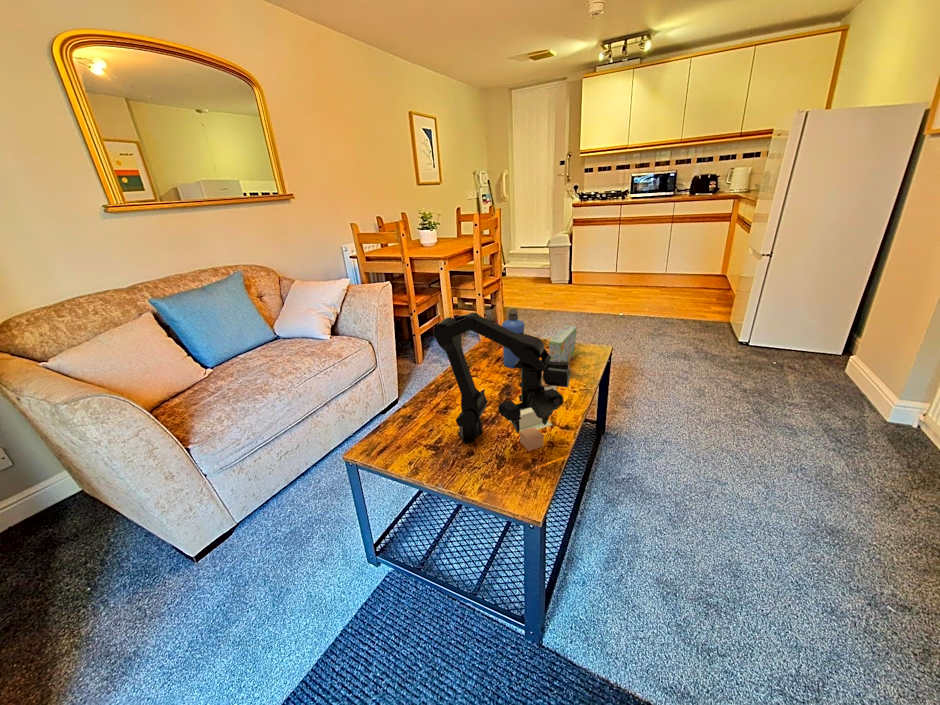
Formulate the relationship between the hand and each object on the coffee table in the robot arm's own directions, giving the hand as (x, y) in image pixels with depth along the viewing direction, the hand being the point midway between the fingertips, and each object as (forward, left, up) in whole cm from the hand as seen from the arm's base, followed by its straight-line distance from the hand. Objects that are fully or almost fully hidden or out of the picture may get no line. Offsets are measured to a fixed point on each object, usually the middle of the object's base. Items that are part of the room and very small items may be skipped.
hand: (531, 428), depth 117 cm
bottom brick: (+6, +11, -6) cm, 14 cm away
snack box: (+42, +42, -7) cm, 60 cm away
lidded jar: (+20, +24, -7) cm, 32 cm away
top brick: (0, 0, -7) cm, 7 cm away
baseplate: (+6, +11, -7) cm, 14 cm away
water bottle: (+25, +54, -7) cm, 60 cm away
